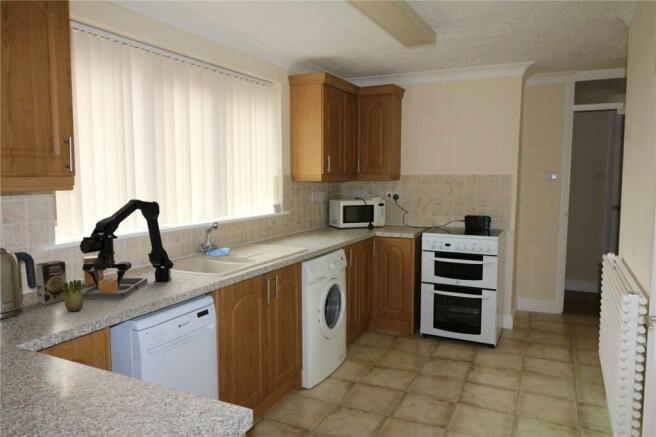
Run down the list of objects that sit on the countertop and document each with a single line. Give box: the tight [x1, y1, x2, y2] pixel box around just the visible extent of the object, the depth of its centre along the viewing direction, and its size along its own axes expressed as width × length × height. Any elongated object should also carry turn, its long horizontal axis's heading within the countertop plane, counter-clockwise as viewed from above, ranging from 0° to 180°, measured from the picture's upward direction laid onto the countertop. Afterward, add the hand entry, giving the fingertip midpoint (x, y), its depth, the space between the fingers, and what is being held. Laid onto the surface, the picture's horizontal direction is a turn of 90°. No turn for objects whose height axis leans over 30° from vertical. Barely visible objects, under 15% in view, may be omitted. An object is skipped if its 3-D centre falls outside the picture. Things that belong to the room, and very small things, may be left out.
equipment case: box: [98, 277, 149, 291], centre depth 219 cm, size 18×14×2 cm
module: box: [98, 277, 118, 293], centre depth 204 cm, size 5×7×6 cm
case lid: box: [81, 285, 137, 300], centre depth 205 cm, size 18×15×2 cm
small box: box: [82, 255, 105, 287], centre depth 224 cm, size 8×6×13 cm
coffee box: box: [35, 260, 67, 305], centre depth 194 cm, size 9×6×16 cm
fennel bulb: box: [64, 279, 84, 312], centre depth 181 cm, size 6×5×12 cm
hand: (108, 285), depth 204 cm, fingers open, 9 cm apart
